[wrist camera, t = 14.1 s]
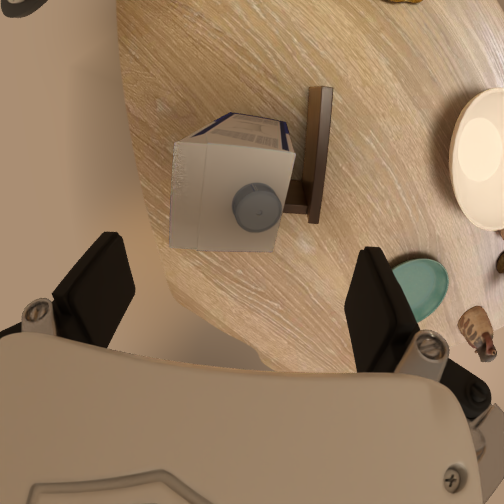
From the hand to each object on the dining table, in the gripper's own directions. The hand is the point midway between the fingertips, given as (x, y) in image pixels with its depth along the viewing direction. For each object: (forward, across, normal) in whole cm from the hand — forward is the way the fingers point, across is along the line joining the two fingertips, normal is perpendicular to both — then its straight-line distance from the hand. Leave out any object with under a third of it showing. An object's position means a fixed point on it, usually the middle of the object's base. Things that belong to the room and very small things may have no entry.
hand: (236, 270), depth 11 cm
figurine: (+25, -46, +29) cm, 60 cm away
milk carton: (+26, +1, 0) cm, 26 cm away
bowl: (+26, -31, -4) cm, 41 cm away
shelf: (+26, -1, 0) cm, 26 cm away
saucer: (+26, -25, +21) cm, 42 cm away
